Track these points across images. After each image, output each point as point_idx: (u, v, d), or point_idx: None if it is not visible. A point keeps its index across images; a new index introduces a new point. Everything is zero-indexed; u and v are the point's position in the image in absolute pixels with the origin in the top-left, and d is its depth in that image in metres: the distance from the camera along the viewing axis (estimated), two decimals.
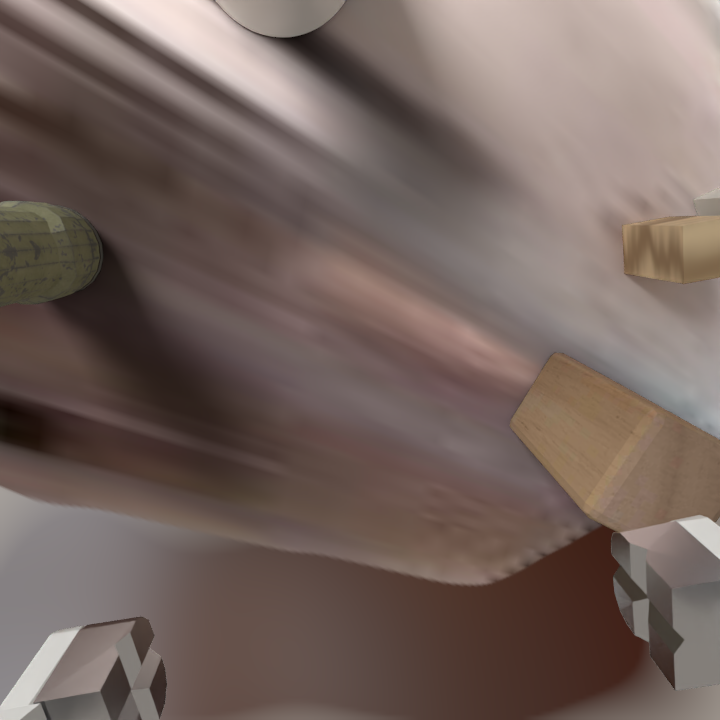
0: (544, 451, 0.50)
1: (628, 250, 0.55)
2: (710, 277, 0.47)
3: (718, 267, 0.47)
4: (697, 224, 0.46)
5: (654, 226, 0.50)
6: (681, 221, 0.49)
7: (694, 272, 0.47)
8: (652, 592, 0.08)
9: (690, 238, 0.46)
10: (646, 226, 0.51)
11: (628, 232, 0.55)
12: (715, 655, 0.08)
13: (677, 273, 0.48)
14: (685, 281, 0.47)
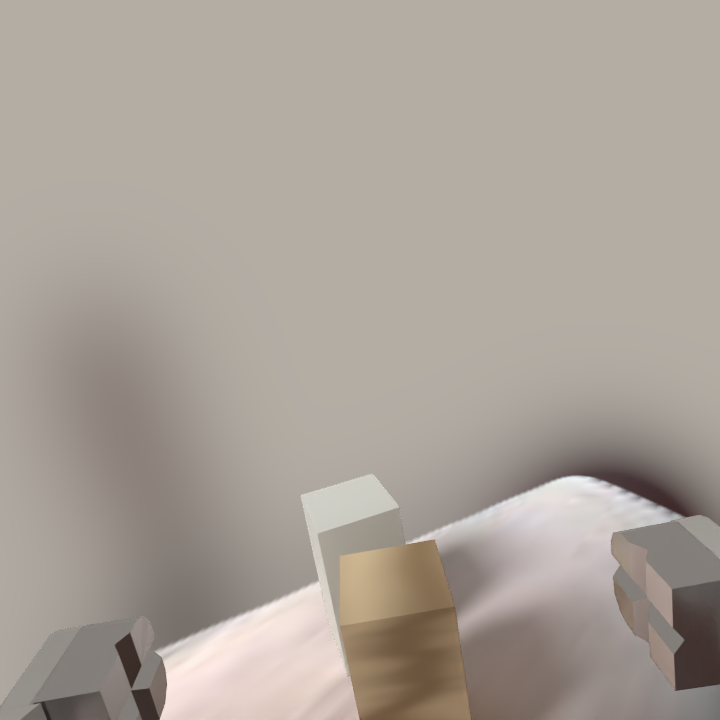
0: None
1: None
2: (441, 572, 0.25)
3: (424, 565, 0.26)
4: (342, 605, 0.24)
5: (358, 703, 0.24)
6: None
7: (432, 594, 0.24)
8: (652, 592, 0.08)
9: (366, 610, 0.24)
10: None
11: None
12: (715, 655, 0.08)
13: (439, 625, 0.23)
14: (449, 605, 0.23)
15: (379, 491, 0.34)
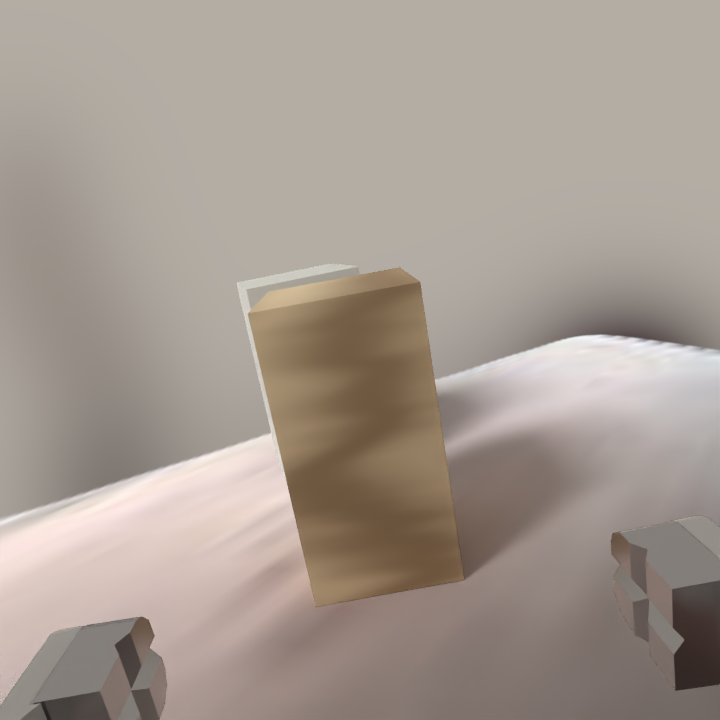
0: None
1: (385, 566, 0.18)
2: (404, 274, 0.18)
3: (381, 276, 0.18)
4: (258, 306, 0.17)
5: (281, 447, 0.16)
6: None
7: (389, 282, 0.16)
8: (652, 593, 0.08)
9: (290, 302, 0.16)
10: (290, 485, 0.17)
11: (329, 571, 0.18)
12: (715, 655, 0.08)
13: (397, 315, 0.16)
14: (412, 281, 0.15)
15: (335, 266, 0.26)
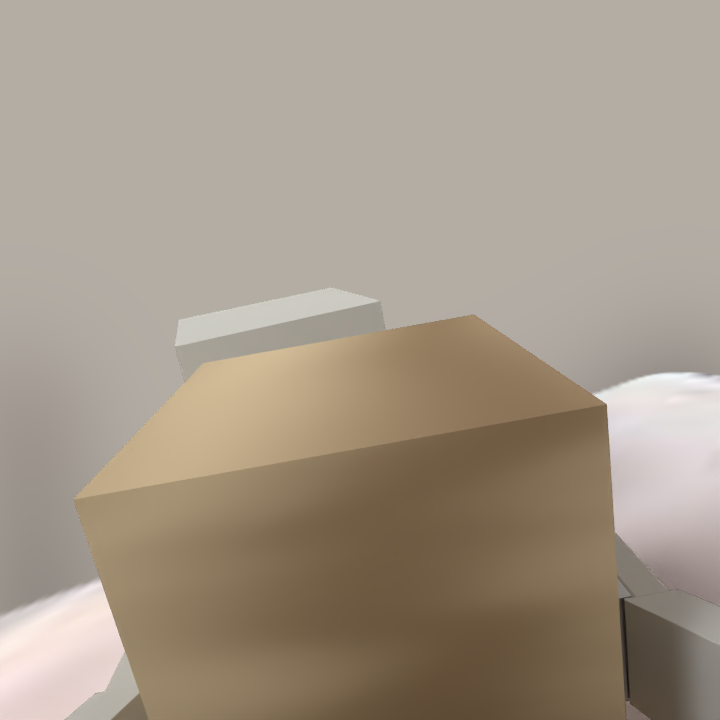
0: None
1: None
2: (512, 348, 0.07)
3: (449, 346, 0.08)
4: (136, 442, 0.06)
5: None
6: None
7: (492, 387, 0.06)
8: None
9: (215, 447, 0.06)
10: None
11: None
12: None
13: (530, 500, 0.05)
14: (580, 401, 0.05)
15: (340, 296, 0.16)
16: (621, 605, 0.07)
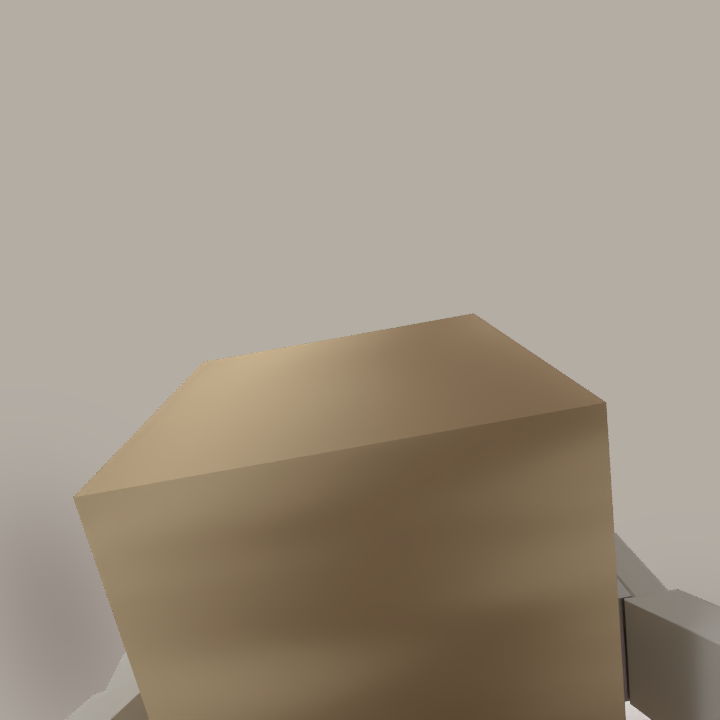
0: None
1: None
2: (511, 347, 0.07)
3: (448, 345, 0.08)
4: (136, 441, 0.06)
5: None
6: None
7: (492, 386, 0.06)
8: None
9: (214, 446, 0.06)
10: None
11: None
12: None
13: (529, 499, 0.05)
14: (579, 400, 0.05)
15: None
16: (621, 605, 0.07)
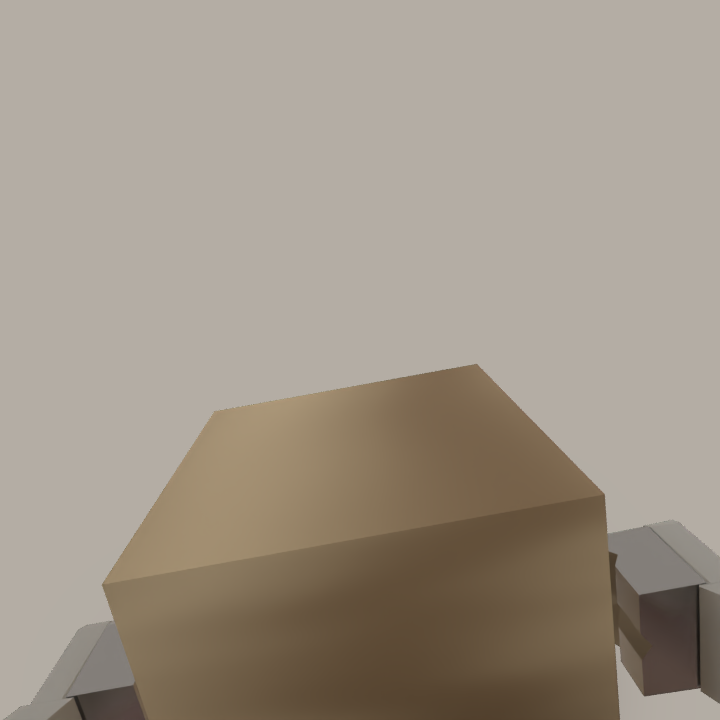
0: None
1: None
2: (514, 414, 0.08)
3: (453, 406, 0.08)
4: (156, 514, 0.07)
5: None
6: None
7: (496, 465, 0.06)
8: (621, 598, 0.08)
9: (233, 526, 0.06)
10: None
11: None
12: (683, 661, 0.08)
13: (532, 583, 0.05)
14: (579, 490, 0.05)
15: None
16: (695, 592, 0.07)
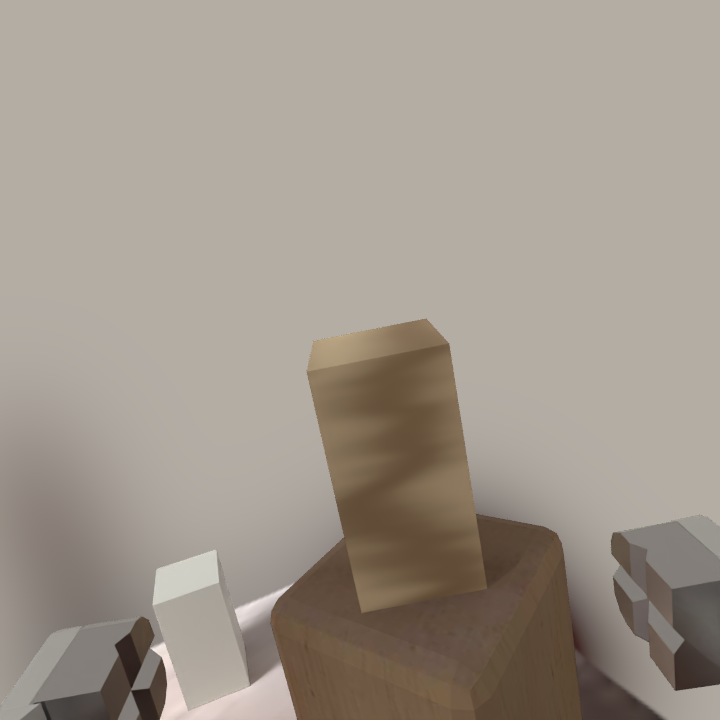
0: None
1: (420, 578, 0.21)
2: (433, 331, 0.21)
3: (413, 330, 0.22)
4: (311, 361, 0.20)
5: (333, 480, 0.20)
6: None
7: (421, 342, 0.20)
8: (653, 593, 0.08)
9: (340, 360, 0.19)
10: (340, 511, 0.20)
11: (373, 583, 0.21)
12: (715, 655, 0.08)
13: (430, 371, 0.19)
14: (442, 343, 0.19)
15: (212, 567, 0.44)
16: None
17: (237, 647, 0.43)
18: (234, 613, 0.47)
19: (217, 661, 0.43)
